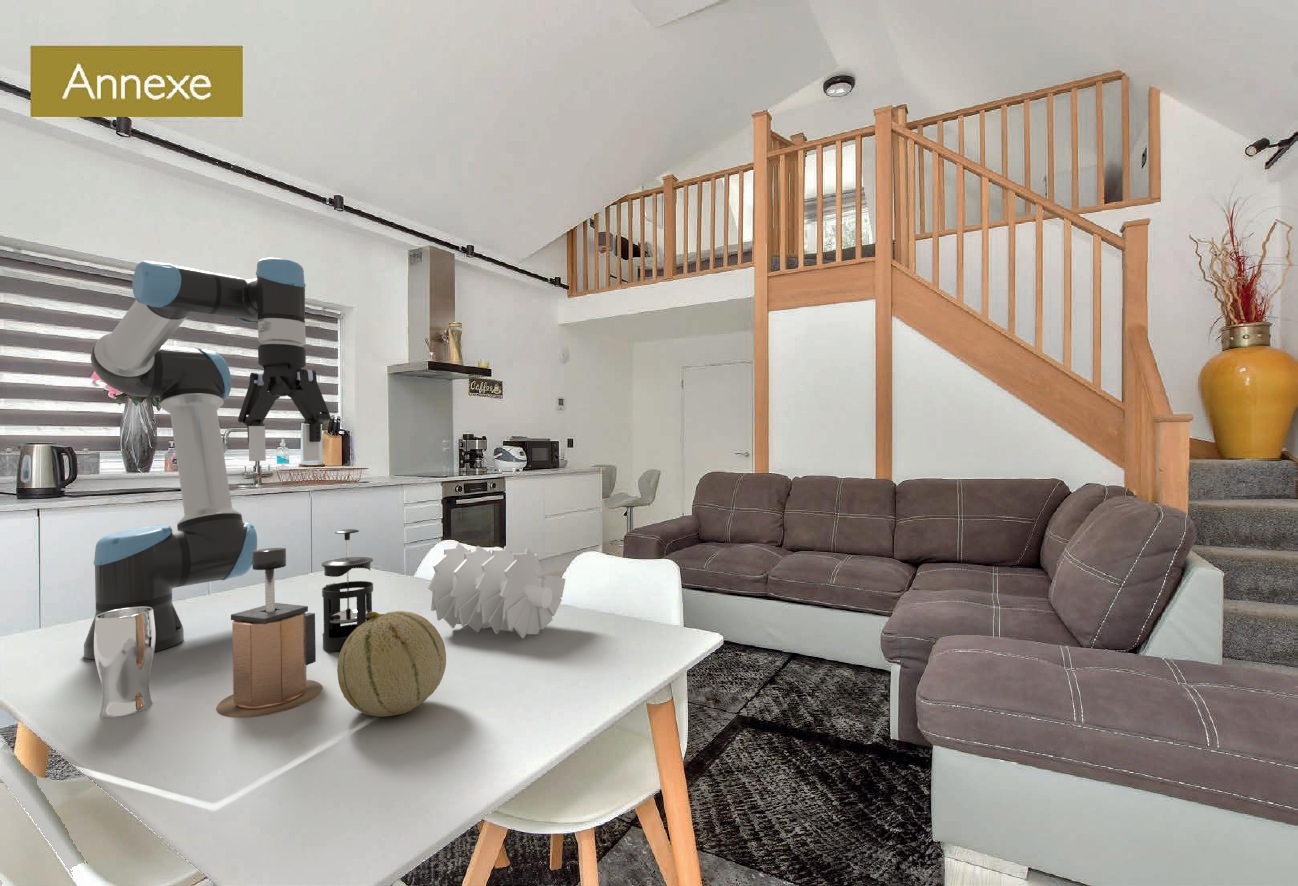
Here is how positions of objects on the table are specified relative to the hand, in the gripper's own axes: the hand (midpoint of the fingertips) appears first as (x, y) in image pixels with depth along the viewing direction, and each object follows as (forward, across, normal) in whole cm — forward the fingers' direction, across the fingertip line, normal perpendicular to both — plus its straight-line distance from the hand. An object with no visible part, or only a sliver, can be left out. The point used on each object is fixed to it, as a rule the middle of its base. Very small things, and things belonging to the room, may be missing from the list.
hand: (283, 461), depth 112 cm
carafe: (+36, +14, -13) cm, 41 cm away
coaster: (+37, +14, -14) cm, 42 cm away
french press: (+37, +5, +9) cm, 38 cm away
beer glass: (+37, -3, -24) cm, 44 cm away
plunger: (+34, +14, -14) cm, 40 cm away
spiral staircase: (+37, +27, +27) cm, 53 cm away
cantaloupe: (+37, +35, -11) cm, 52 cm away
